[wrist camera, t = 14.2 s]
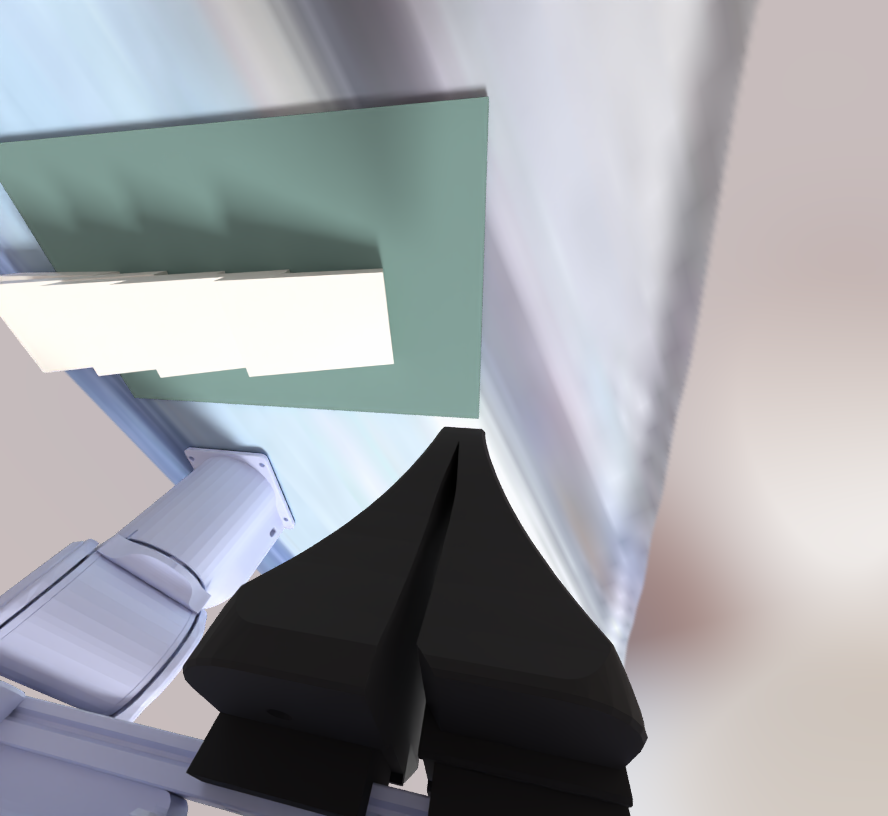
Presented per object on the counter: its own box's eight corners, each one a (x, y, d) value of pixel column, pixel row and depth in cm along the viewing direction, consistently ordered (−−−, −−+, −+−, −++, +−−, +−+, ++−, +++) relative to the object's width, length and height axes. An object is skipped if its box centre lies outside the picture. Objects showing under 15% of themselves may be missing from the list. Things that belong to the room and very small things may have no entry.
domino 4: (393, 363, 18) (249, 376, 17) (393, 354, 20) (258, 365, 19) (382, 272, 16) (212, 281, 15) (382, 268, 17) (226, 276, 16)
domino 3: (308, 360, 19) (160, 377, 18) (311, 351, 21) (174, 366, 19) (283, 273, 17) (109, 284, 15) (289, 269, 18) (129, 279, 17)
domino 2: (247, 358, 20) (98, 376, 18) (253, 350, 21) (115, 365, 20) (214, 274, 17) (38, 285, 16) (224, 270, 19) (63, 281, 17)
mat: (478, 415, 22) (478, 418, 21) (139, 395, 26) (134, 397, 25) (488, 99, 13) (488, 96, 13) (-13, 146, 18) (-23, 145, 17)
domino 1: (192, 356, 21) (43, 372, 19) (202, 348, 22) (63, 363, 20) (153, 274, 18) (-24, 285, 16) (166, 270, 19) (4, 281, 18)
